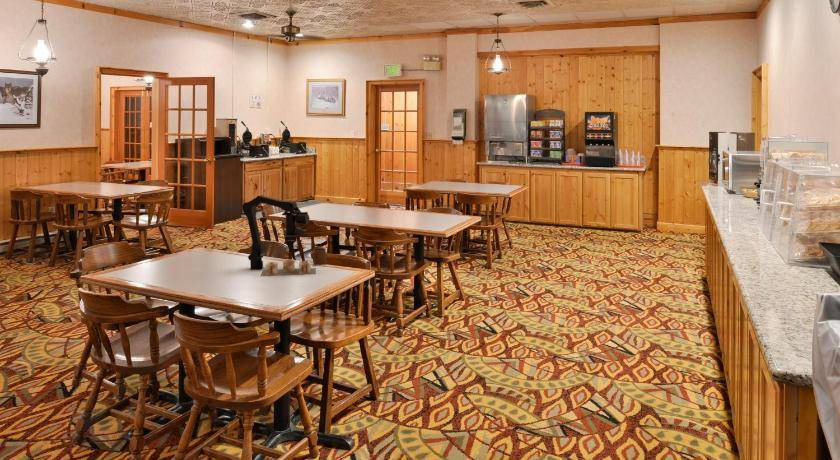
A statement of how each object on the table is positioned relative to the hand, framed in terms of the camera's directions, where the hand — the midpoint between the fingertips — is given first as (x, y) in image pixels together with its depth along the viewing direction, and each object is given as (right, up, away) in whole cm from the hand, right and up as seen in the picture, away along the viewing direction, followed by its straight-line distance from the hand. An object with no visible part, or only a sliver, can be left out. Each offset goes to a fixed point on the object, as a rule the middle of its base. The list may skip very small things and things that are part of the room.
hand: (291, 250), depth 347 cm
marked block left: (-9, -13, -8) cm, 17 cm away
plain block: (-1, -12, 0) cm, 12 cm away
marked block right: (+9, -12, -5) cm, 16 cm away
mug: (+12, -10, +18) cm, 24 cm away
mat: (-1, -13, -3) cm, 13 cm away
